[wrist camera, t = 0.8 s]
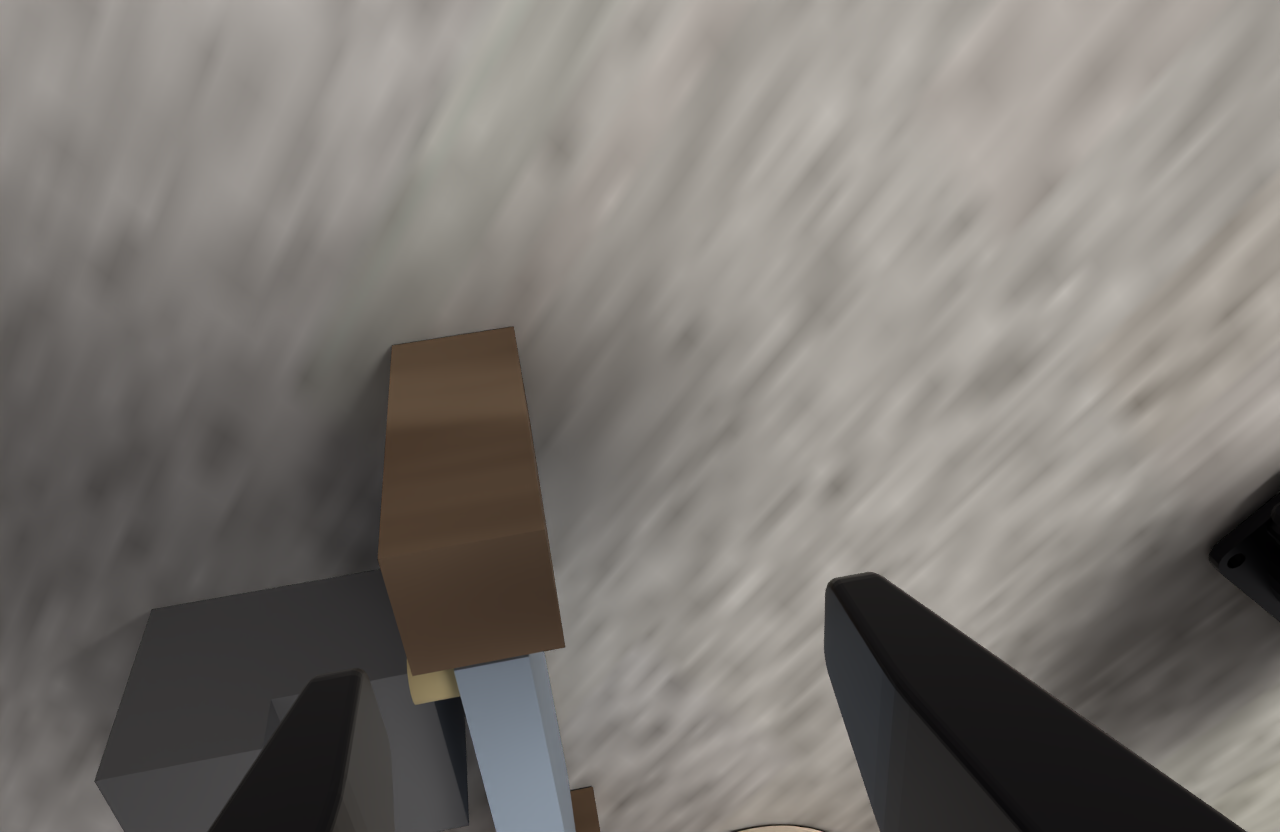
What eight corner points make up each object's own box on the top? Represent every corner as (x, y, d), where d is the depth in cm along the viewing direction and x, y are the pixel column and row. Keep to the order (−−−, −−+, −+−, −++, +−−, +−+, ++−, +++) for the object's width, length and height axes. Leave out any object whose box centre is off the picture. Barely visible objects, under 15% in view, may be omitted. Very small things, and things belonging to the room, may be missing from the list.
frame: (598, 817, 29) (639, 1074, 23) (513, 835, 28) (535, 1098, 23) (513, 326, 20) (546, 542, 14) (392, 345, 20) (376, 572, 14)
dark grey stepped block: (464, 705, 26) (470, 873, 22) (222, 753, 25) (184, 933, 21) (426, 556, 23) (424, 717, 19) (153, 605, 22) (94, 781, 18)
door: (568, 778, 27) (600, 1004, 22) (490, 793, 27) (504, 1026, 22) (505, 449, 21) (528, 657, 16) (404, 466, 21) (396, 681, 16)
